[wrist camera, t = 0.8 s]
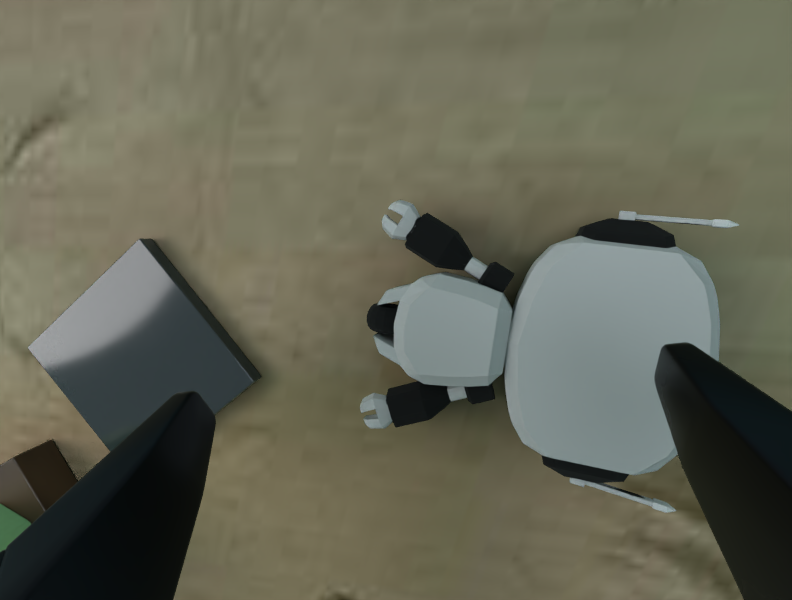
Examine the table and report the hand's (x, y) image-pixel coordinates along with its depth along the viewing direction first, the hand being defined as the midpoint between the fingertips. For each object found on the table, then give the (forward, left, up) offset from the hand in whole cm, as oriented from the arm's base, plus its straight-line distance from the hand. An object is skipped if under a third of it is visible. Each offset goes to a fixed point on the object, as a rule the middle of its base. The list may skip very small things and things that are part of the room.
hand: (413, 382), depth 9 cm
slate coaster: (+5, +17, -15) cm, 23 cm away
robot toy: (-3, -2, -15) cm, 16 cm away
